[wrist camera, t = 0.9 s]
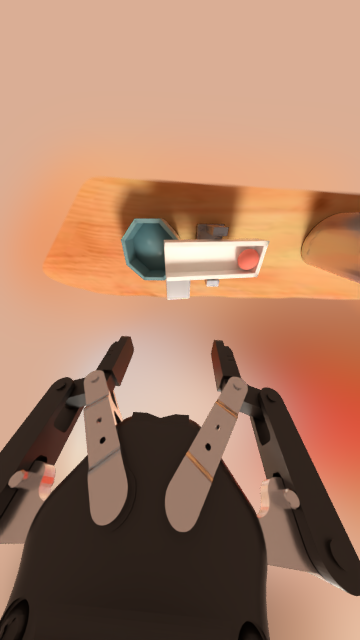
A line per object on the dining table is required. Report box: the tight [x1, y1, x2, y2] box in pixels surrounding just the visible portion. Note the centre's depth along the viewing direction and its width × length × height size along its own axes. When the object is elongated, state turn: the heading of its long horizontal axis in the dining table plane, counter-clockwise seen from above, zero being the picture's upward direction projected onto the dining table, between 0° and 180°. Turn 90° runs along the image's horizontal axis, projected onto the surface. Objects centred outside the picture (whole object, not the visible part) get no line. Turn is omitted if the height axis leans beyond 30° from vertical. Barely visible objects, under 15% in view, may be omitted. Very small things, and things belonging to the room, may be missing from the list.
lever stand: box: [196, 224, 229, 286], centre depth 25 cm, size 5×9×10 cm, turn 0°
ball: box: [238, 249, 259, 270], centre depth 22 cm, size 3×3×3 cm
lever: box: [164, 239, 269, 300], centre depth 24 cm, size 15×9×6 cm, turn 90°
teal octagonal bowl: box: [121, 219, 180, 280], centre depth 27 cm, size 10×10×6 cm
